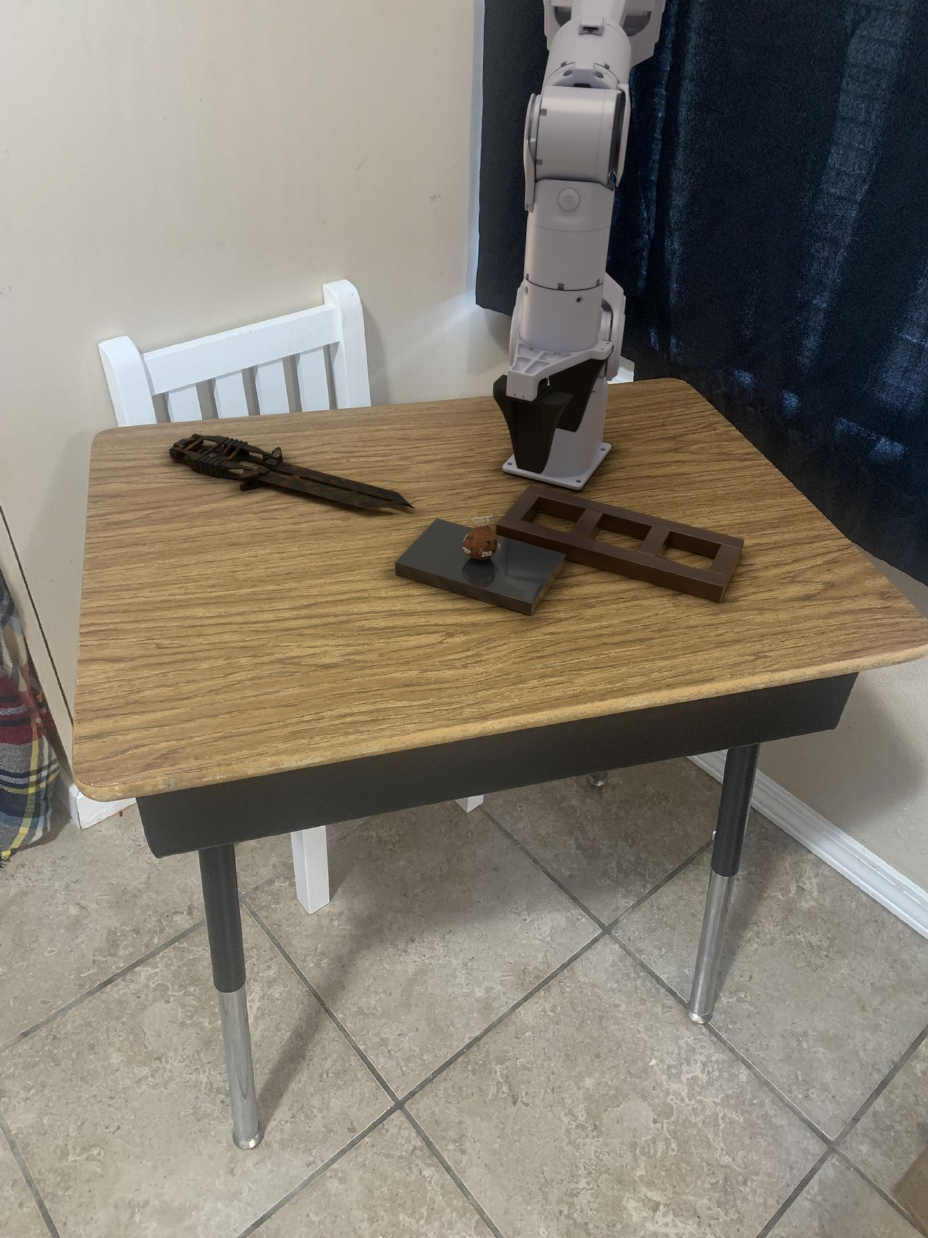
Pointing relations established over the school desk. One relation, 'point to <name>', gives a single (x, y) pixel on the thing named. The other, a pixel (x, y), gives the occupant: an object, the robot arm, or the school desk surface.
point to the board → (482, 567)
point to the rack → (622, 560)
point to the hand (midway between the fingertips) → (548, 448)
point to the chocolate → (481, 541)
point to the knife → (273, 464)
